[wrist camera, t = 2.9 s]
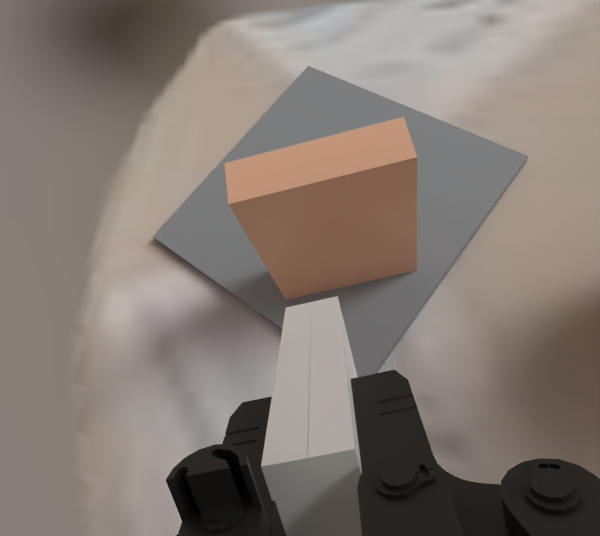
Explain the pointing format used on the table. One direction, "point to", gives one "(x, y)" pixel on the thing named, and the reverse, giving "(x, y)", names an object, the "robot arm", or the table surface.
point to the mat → (430, 211)
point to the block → (331, 208)
